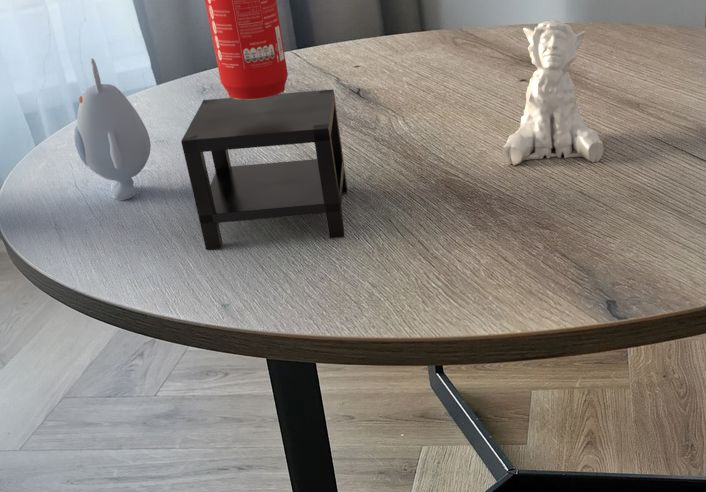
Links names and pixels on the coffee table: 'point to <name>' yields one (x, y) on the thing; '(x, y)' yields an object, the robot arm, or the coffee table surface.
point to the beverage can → (248, 47)
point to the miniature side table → (270, 178)
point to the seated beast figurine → (552, 101)
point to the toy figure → (111, 136)
